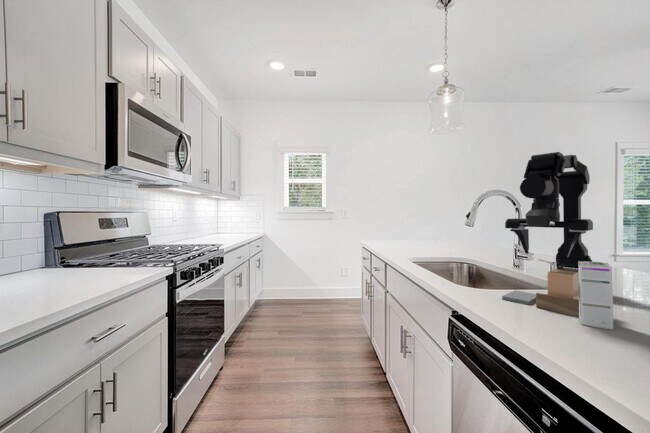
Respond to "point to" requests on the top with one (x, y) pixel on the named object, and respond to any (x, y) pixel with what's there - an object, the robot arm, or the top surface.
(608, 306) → the syrup box
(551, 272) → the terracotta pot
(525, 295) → the slate tile
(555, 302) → the frame
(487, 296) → the top surface
